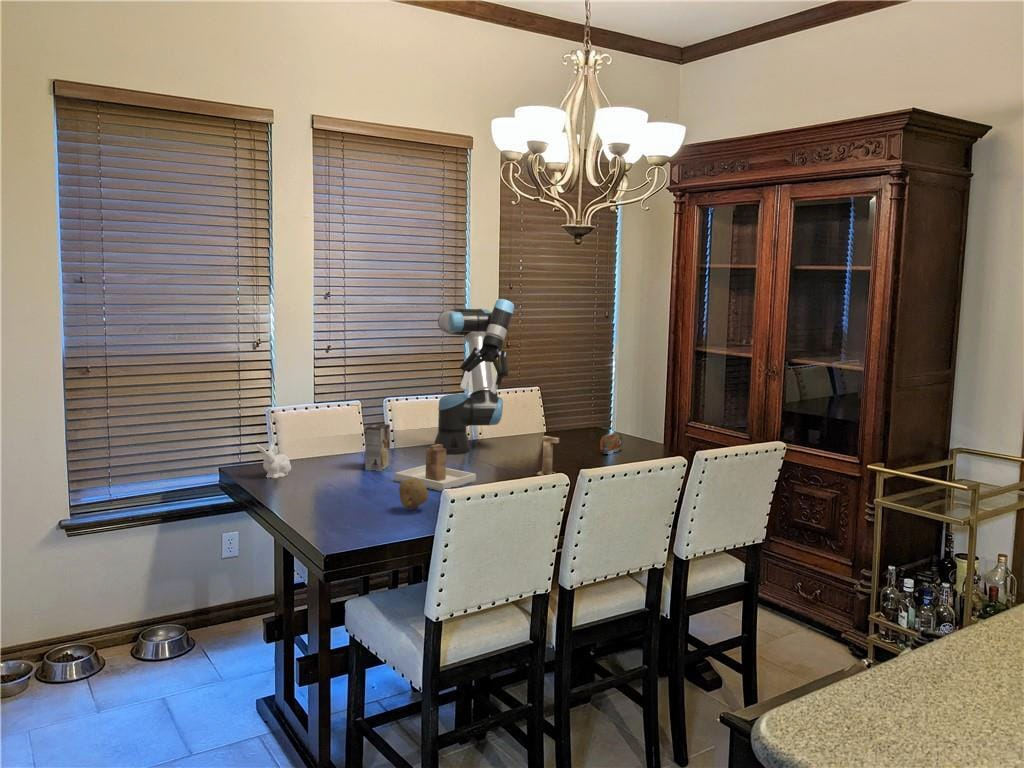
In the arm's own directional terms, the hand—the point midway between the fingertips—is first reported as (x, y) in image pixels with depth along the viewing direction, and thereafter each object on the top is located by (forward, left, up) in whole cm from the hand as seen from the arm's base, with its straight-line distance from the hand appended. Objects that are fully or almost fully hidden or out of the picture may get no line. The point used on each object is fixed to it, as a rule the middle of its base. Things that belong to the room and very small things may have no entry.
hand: (477, 390), depth 302 cm
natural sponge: (+17, -54, -30) cm, 64 cm away
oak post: (+25, +11, -30) cm, 41 cm away
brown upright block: (0, -23, -29) cm, 37 cm away
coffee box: (-29, -22, -30) cm, 48 cm away
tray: (0, -23, -30) cm, 38 cm away
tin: (+24, +63, -31) cm, 74 cm away
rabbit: (-47, -55, -30) cm, 79 cm away
